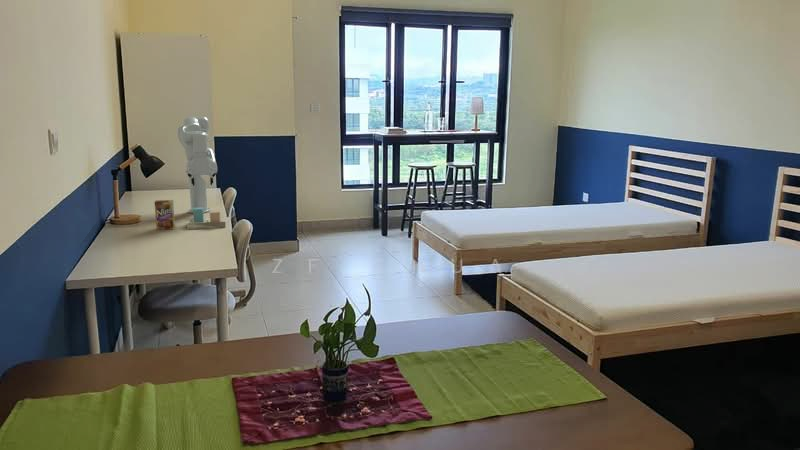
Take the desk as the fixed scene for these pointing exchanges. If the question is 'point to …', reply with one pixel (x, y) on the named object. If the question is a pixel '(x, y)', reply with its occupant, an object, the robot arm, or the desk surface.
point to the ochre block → (215, 216)
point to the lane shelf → (206, 224)
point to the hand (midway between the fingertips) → (202, 184)
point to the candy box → (164, 214)
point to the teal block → (198, 215)
